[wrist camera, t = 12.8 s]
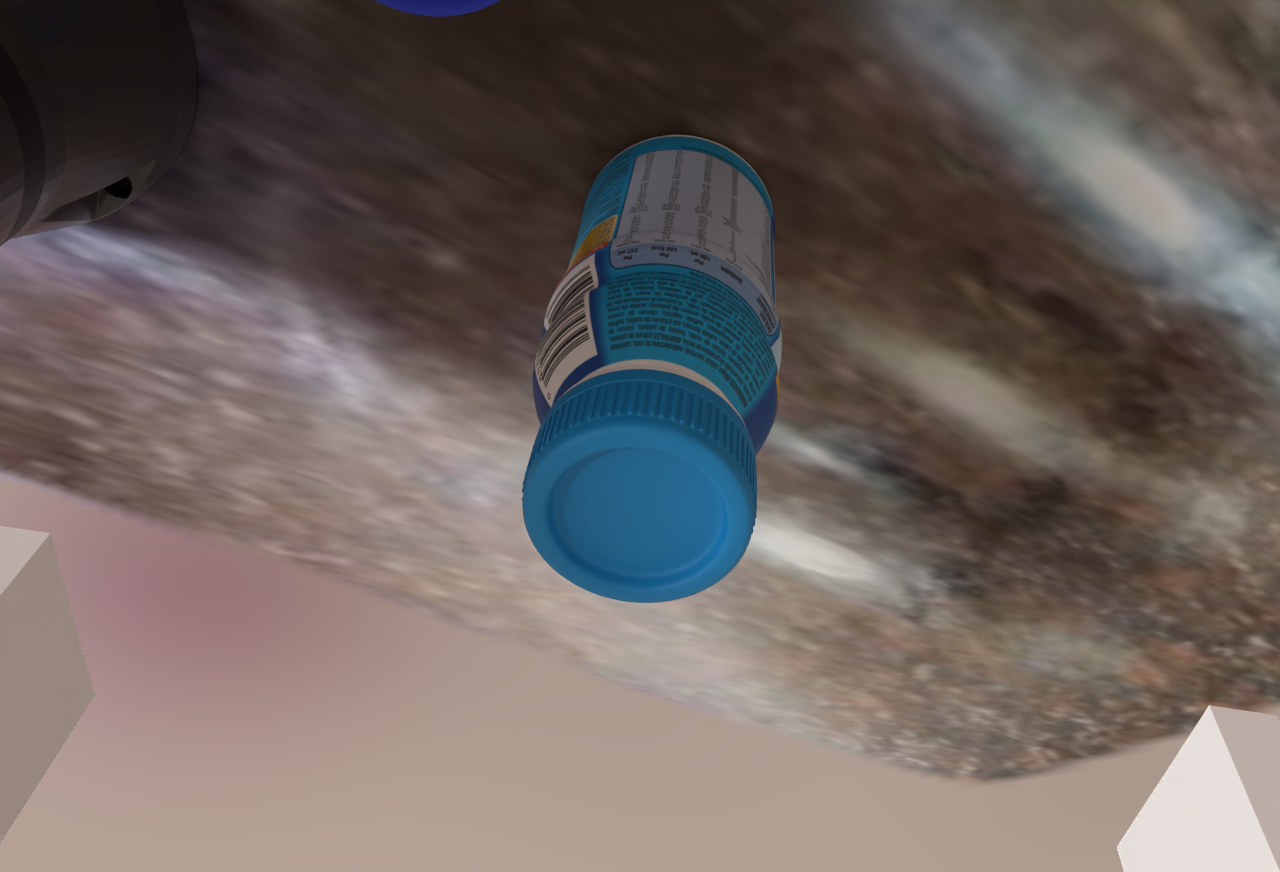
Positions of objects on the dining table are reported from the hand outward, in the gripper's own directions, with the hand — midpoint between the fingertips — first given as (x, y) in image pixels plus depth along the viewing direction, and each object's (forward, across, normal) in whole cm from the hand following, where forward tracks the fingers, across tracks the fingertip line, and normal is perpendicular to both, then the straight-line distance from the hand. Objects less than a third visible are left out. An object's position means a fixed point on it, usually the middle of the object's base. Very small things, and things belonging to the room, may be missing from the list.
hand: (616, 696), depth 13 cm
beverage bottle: (+35, 0, -10) cm, 36 cm away
